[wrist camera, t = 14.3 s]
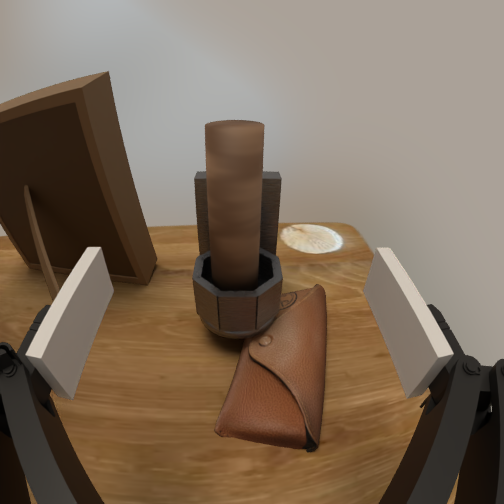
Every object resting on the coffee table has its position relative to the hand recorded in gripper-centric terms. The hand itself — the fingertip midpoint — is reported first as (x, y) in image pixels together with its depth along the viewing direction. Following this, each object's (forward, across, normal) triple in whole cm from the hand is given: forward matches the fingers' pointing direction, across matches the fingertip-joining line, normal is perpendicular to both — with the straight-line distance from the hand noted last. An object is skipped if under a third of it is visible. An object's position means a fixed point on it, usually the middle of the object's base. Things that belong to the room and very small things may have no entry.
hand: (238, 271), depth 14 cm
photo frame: (+15, -22, -16) cm, 31 cm away
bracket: (+13, 0, -15) cm, 20 cm away
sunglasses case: (+6, +4, -16) cm, 17 cm away
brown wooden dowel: (+10, 0, -11) cm, 15 cm away
